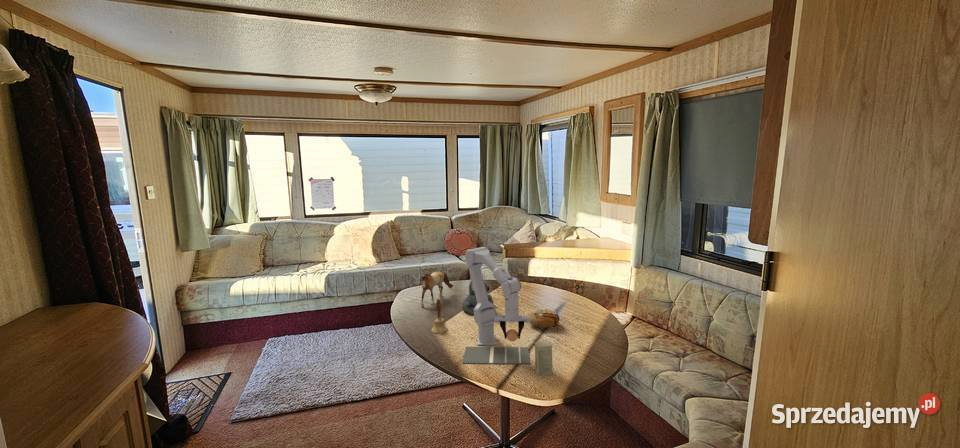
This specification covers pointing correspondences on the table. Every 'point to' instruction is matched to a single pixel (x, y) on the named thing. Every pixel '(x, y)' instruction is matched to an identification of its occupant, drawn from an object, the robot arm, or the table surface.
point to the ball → (512, 335)
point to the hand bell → (439, 321)
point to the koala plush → (473, 299)
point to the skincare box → (543, 358)
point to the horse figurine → (434, 283)
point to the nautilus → (544, 319)
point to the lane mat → (496, 355)
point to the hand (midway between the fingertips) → (512, 337)
